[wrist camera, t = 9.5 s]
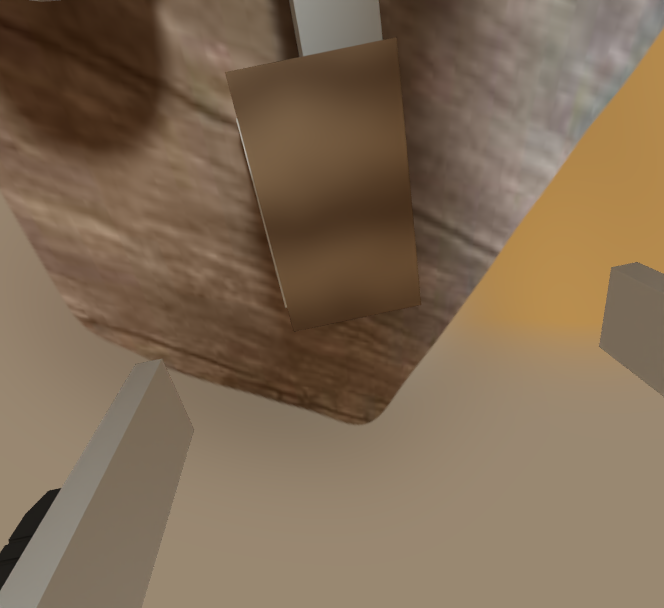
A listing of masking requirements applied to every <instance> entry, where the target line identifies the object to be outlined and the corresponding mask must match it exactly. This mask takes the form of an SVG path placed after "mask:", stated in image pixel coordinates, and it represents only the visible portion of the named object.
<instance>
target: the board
mask: <svg viewBox="0 0 664 608" xmlns="http://www.w3.org/2000/svg"><path fill="white" fill-rule="evenodd" d="M225 74H226V78H227V81H228V85H229V89H230V93H231V97H232V100H233V104H234V108H235V112H236V116H237V119H238V123H239V127H240V131H241V134H242V138H243V142H244V146H245V150H246V153H247V157H248V161H249V165H250V168H251V172H252V176H253V180H254V184H255V187H256V191H257V195H258V199H259V202H260V206H261V210H262V214H263V218H264V221H265V225H266V229H267V233H268V237H269V240H270V244H271V248H272V252H273V255H274V259H275V263H276V267H277V271H278V274H279V278H280V282H281V286H282V289H283V293H284V297H285V301H286V305H287V308H288V312H289V316H290V320H291V323H292V327H293V331H299V330H304V329H309V328H313V327H318V326H323V325H328V324H333V323H337V322H342V321H347V320H352V319H356V318H361V317H366V316H371V315H376V314H380V313H385V312H390V311H395V310H399V309H404V308H409V307H414V306H419V305H421V297H420V286H419V275H418V265H417V254H416V243H415V232H414V221H413V210H412V199H411V189H410V178H409V167H408V156H407V145H406V134H405V123H404V112H403V102H402V91H401V80H400V69H399V58H398V47H397V37H395V38H390V39H385V40H380V41H375V42H370V43H366V44H361V45H356V46H351V47H346V48H341V49H336V50H331V51H327V52H322V53H317V54H312V55H307V56H302V57H297V58H293V59H288V60H283V61H278V62H273V63H268V64H263V65H258V66H254V67H249V68H244V69H239V70H234V71H229V72H225Z"/></svg>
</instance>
